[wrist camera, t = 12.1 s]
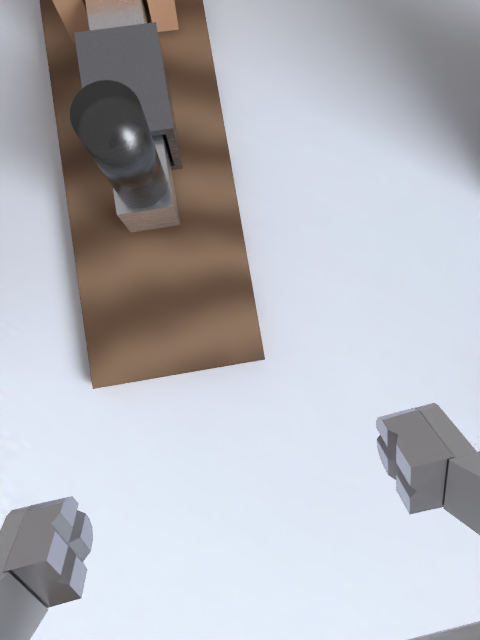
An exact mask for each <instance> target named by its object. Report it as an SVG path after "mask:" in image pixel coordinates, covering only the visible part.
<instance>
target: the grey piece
mask: <svg viewBox="0 0 480 640" xmlns="http://www.w3.org/2000/svg"><path fill="white" fill-rule="evenodd" d="M85 2H86V9H87V16H88V22H89V29H90V30H98V29H106V28H114V27H122V26H129V25H137V24H145V23H148V21H147V15H146V9H145V2H144V0H85ZM70 121H71V125H72V127H73V129H74V131H75V133H76V134H77V136H78V137H79V138H80V140H81V141H82V143H83V144H84V146H85V147H86V149H87V150H88V152H89V153H90V155H91V156H92V157H93V159H94V160H95V162H96V163H97V165H98V166H99V168H100V169H101V171H102V172H103V174H104V175H105V176H106V178H107V179H108V181H109V182H110V184H111V185H112V187H113V192H114V199H115V206H116V213H117V216H118V217H119V218H120V219H121V221H122V222H123V223H124V225H125V226H126V227H127V228H128V230H129V231H130V232H131V233H132V232H138V231H145V230H151V229H158V228H164V227H171V226H177V225H180V220H179V214H178V208H177V202H176V195H175V189H174V183H173V177H172V170H171V164H170V158H169V152H168V146H167V139H166V134H164V135H157V136H151V133H150V130H149V127H148V124H147V121H146V118H145V115H144V112H143V109H142V107H141V104H140V101H139V99H138V97H137V96H136V94H135V93H134V92H133V91H132V90H131V89H130V88H129V87H127V86H126V85H124V84H122V83H120V82H117V81H112V80H100V81H96V82H93V83H90V84H88V85H87V86H85V87H84V88H82V89H81V90H80V91H79V92H78V93H77V95H76V96H75V97H74V99H73V101H72V104H71V108H70Z"/></svg>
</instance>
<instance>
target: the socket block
mask: <svg viewBox="0 0 480 640" xmlns="http://www.w3.org/2000/svg"><path fill="white" fill-rule="evenodd" d="M52 1H53V3H54V5H55V7H56V9H57V11H58V13H59V15H60V17H61V19H62V21H63V23H64V25H65V27H66V29H67V31H68V33H69V35H70V37H71V39H72V41H73V43H75V36H74V32H82V31H90V29H89V22H88V16H87V9H86V2H85V0H52ZM144 2H145V9H146V15H147V21H148V23H153V22H156V25H157V29H158V32H163V31H171V30H178V29H179V28H178V21H177V14H176V7H175V0H144Z"/></svg>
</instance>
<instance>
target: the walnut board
mask: <svg viewBox="0 0 480 640" xmlns="http://www.w3.org/2000/svg"><path fill="white" fill-rule="evenodd" d="M40 7H41V14H42V21H43V29H44V36H45V43H46V50H47V58H48V65H49V72H50V80H51V87H52V94H53V102H54V109H55V116H56V123H57V131H58V138H59V145H60V153H61V160H62V167H63V175H64V182H65V189H66V196H67V204H68V211H69V218H70V226H71V233H72V240H73V248H74V255H75V262H76V269H77V277H78V284H79V291H80V299H81V306H82V313H83V321H84V328H85V335H86V342H87V350H88V357H89V364H90V372H91V379H92V386H93V389H95V388H101V387H106V386H112V385H118V384H124V383H130V382H136V381H141V380H147V379H153V378H159V377H165V376H171V375H176V374H182V373H188V372H194V371H200V370H206V369H211V368H217V367H223V366H229V365H235V364H241V363H246V362H252V361H258V360H264V359H265V357H264V351H263V345H262V339H261V334H260V328H259V322H258V316H257V311H256V305H255V299H254V293H253V288H252V282H251V276H250V270H249V265H248V259H247V253H246V247H245V242H244V236H243V230H242V224H241V219H240V213H239V207H238V201H237V196H236V190H235V184H234V178H233V173H232V167H231V161H230V155H229V150H228V144H227V138H226V132H225V127H224V121H223V115H222V109H221V104H220V98H219V92H218V86H217V81H216V75H215V69H214V63H213V58H212V52H211V46H210V40H209V35H208V29H207V23H206V17H205V12H204V6H203V0H175V7H176V14H177V21H178V28H179V29H178V30H171V31H163V32H158V34H159V39H160V43H161V48H162V53H163V57H164V62H165V67H166V71H167V76H168V81H169V87H170V93H171V99H172V106H173V112H174V118H175V124H176V130H177V136H178V142H179V148H180V155H181V161H182V167H183V169H176V170H172V177H173V183H174V189H175V195H176V202H177V208H178V214H179V220H180V225H177V226H171V227H164V228H158V229H151V230H145V231H138V232H132V233H131V232H130V231H129V230H128V228H127V227H126V226H125V225H124V223H123V222H122V221H121V219H120V218H119V217H118V216H117V213H116V206H115V199H114V192H113V187H112V185H111V184H110V182H109V181H108V179H107V178H106V176H105V175H104V174H103V172H102V171H101V169H100V168H99V166H98V165H97V163H96V162H95V160H94V159H93V157H92V156H91V155H90V153H89V152H88V150H87V149H86V147H85V146H84V144H83V143H82V141H81V140H80V138H79V137H78V136H77V134H76V133H75V131H74V129H73V127H72V125H71V121H70V108H71V104H72V101H73V99H74V97H75V96H76V95H77V93H78V92H79V91H80V90H81V89H82V85H81V78H80V71H79V64H78V57H77V50H76V43H73V41H72V39H71V37H70V35H69V33H68V31H67V29H66V27H65V25H64V23H63V21H62V19H61V17H60V15H59V13H58V11H57V9H56V7H55V5H54V3H53V1H52V0H40Z"/></svg>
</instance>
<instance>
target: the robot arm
mask: <svg viewBox="0 0 480 640" xmlns="http://www.w3.org/2000/svg"><path fill="white" fill-rule="evenodd" d="M376 428H377V430H378V432H379V433H380V436H379V437H378V438H377V448H378V452H379V456H380V459H381V461H382V464H383V466H384V468H385V470H386V472H387V474H388V475H389V476H391V477H392V478H394V479H395V480H396V491H397V492H398V494H399V496H400V498H401V500H402V501H403V503H404V505H405V507H406V509H407V511H408V512H409V514H413V513H418V512H422V511H427V510H431V509H436V508H440V507H444V509H445V510H446V511H448V512H449V513H450V514H452V515H453V516H454V517H456V518H457V519H459V520H460V521H461V522H463V523H464V524H465V525H467V526H468V527H469V528H471V529H472V530H474V531H475V532H476V533H478V534H479V535H480V451H479V452H477V451H476V450H475V449H474V448H473V446H472V445H471V444H470V443H469V442H468V440H467V439H466V438H465V437H464V436H463V434H462V433H461V432H460V431H459V430H458V428H457V427H456V426H455V425H454V424H453V422H452V421H451V420H450V419H449V418H448V416H447V415H446V414H445V413H444V412H443V410H442V409H441V408H440V407H439V406H438V405H437V404H435V403H432V404H428V405H424V406H421V407H417V408H411V409H408V410H404V411H400V412H396V413H393V414H389V415H385V416H382V417H378V418H377V420H376ZM77 508H78V503H77V501H76V500H75V499H74V498H73V496H72V497H66V498H62V499H58V500H53V501H49V502H44V503H40V504H36V505H31V506H27V507H23V508H19V509H15V510H12V511H11V512H10V513H9V514H8V515H7V516H6V518H5V521H4V523H3V526H2V528H1V530H0V640H30V639H31V637H32V635H33V634H34V632H35V630H36V629H37V627H38V626H39V624H40V622H41V621H42V619H43V617H44V616H45V614H46V613H47V611H48V609H47V608H49V607H52V606H56V605H59V604H62V603H66V602H69V601H73V600H76V599H80V598H82V593H83V588H84V583H85V578H86V573H87V568H86V566H85V564H84V562H83V561H84V560H85V558H86V557H87V555H88V554H89V553H90V551H91V547H92V541H93V531H92V525H91V522H90V519H89V518H88V516H87V515H86V514H85V513H83V512H80V511H78V510H77ZM408 640H480V621H479V622H475V623H471V624H467V625H463V626H459V627H455V628H451V629H447V630H443V631H440V632H436V633H432V634H428V635H424V636H420V637H416V638H412V639H408Z"/></svg>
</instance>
